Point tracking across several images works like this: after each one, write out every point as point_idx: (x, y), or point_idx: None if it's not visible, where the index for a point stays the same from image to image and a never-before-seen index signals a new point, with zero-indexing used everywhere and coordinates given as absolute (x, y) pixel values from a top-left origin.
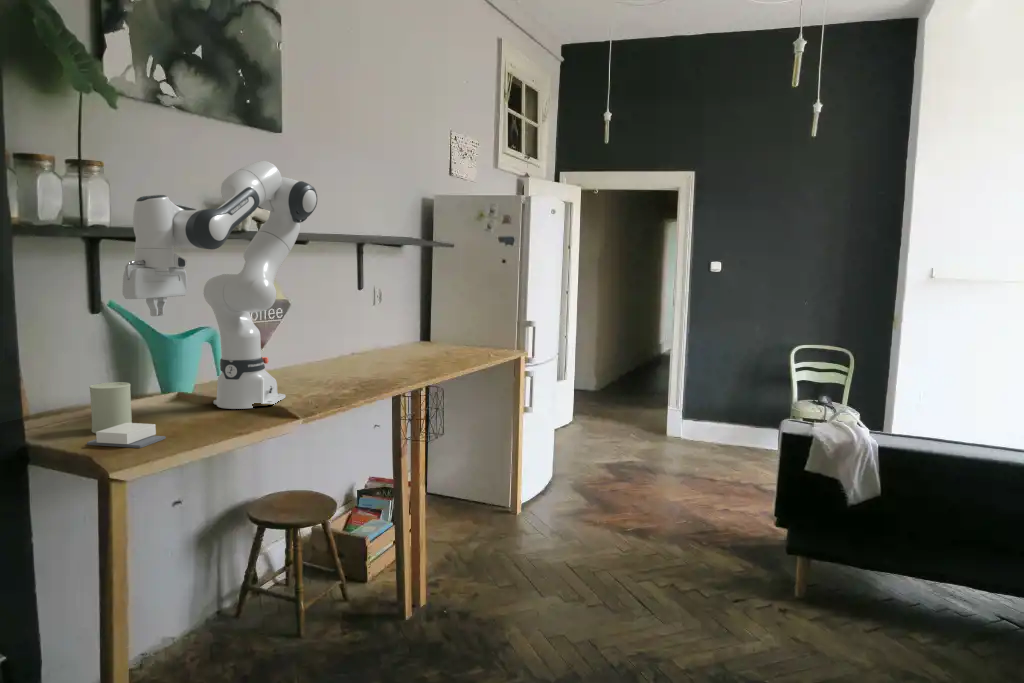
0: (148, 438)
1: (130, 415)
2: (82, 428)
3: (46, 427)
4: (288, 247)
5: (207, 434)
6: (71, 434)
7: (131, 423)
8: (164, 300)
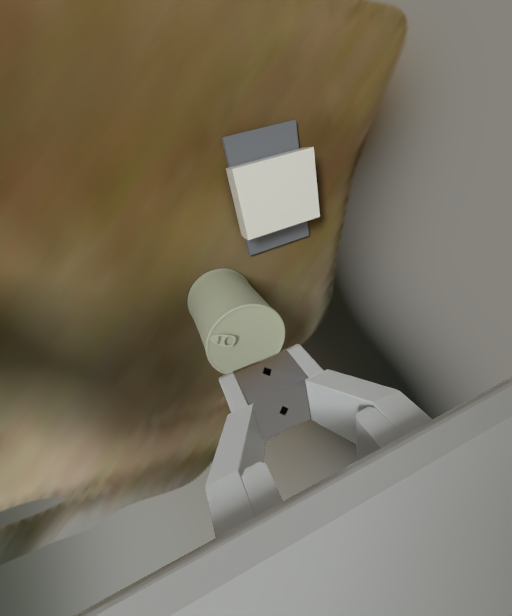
0: (251, 156)
1: (207, 287)
2: None
3: None
4: None
5: (140, 66)
6: None
7: (248, 224)
8: (252, 480)
